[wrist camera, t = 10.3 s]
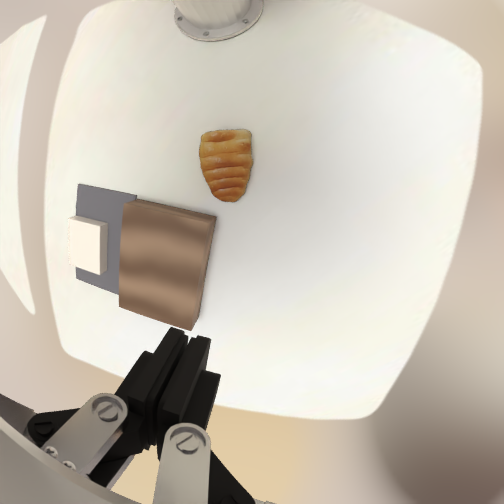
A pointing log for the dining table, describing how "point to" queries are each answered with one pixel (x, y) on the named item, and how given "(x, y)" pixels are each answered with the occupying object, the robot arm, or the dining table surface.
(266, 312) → the dining table surface
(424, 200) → the dining table surface
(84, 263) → the tile
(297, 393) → the dining table surface
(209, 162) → the pastry
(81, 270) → the mat
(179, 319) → the serving board
